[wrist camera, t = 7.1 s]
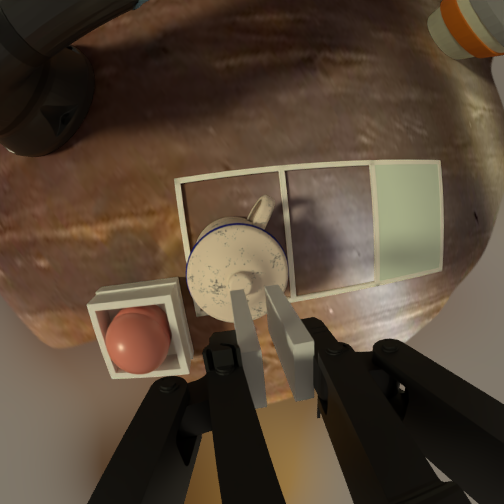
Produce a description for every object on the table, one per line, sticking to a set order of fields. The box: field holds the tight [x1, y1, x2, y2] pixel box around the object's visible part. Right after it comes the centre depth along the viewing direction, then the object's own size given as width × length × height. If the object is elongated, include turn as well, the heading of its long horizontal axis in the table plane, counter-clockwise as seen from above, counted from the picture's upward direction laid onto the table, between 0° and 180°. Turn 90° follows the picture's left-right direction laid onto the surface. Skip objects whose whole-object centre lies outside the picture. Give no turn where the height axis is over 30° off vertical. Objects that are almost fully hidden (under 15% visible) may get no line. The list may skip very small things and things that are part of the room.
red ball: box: [106, 305, 172, 374], centre depth 30 cm, size 7×7×7 cm
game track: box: [174, 160, 444, 317], centre depth 35 cm, size 35×16×1 cm, turn 97°
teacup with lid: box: [186, 195, 289, 323], centre depth 29 cm, size 12×9×12 cm
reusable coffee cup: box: [427, 0, 504, 60], centre depth 24 cm, size 12×13×15 cm
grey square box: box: [87, 277, 194, 379], centre depth 33 cm, size 10×10×6 cm
